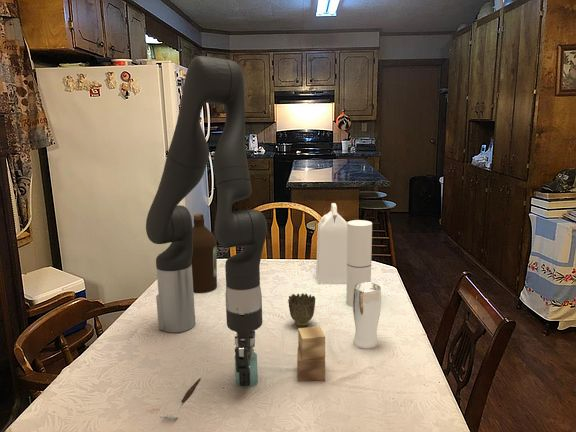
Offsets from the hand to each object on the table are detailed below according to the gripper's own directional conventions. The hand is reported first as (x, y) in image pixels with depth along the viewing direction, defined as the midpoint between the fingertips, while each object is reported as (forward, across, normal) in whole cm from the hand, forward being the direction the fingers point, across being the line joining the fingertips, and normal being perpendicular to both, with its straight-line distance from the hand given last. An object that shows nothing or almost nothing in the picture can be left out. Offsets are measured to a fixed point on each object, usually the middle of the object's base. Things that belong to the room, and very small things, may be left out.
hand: (246, 376), depth 102 cm
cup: (+1, -27, +12) cm, 30 cm away
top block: (-4, -3, +14) cm, 15 cm away
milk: (+1, -64, +23) cm, 68 cm away
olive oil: (+1, -55, -21) cm, 59 cm away
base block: (+1, -3, +14) cm, 14 cm away
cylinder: (+1, 0, 0) cm, 1 cm away
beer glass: (+1, -17, +28) cm, 33 cm away
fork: (+2, +7, -12) cm, 14 cm away
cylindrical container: (+1, -42, +29) cm, 51 cm away
